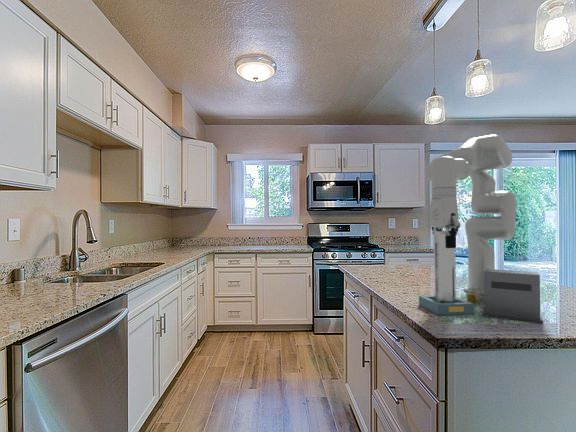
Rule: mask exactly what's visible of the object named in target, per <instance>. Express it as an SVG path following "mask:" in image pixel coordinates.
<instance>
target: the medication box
mask: <svg viewBox="0 0 576 432" xmlns="http://www.w3.org/2000/svg"><path fill="white" fill-rule="evenodd" d="M481 300H482V294H481V290H480V289H477V288H473V289H472V290H471V291H470V292H467V301H468V302H471V303H473V304H474V306H477V305H478V304H479V303H480V301H481Z"/></svg>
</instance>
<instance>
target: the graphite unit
mask: <svg viewBox="0 0 576 432" xmlns="http://www.w3.org/2000/svg"><path fill="white" fill-rule="evenodd" d="M540 277H541V275H540V274H539V273H538V272H537V271H522V270H512V269H511V270H509V269H507V270H506V269H484V294H483V306H482V309H481V310H482V312H481V313H482V315H481V316H482V317H484V318H485V317H486V318H493V319H500V320H509V321H517V322H525V323H531V324H538V325H544V320H543V318H542V317H541V278H540Z"/></svg>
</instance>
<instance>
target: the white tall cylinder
mask: <svg viewBox="0 0 576 432" xmlns="http://www.w3.org/2000/svg"><path fill="white" fill-rule="evenodd" d="M446 236H447V233H446V230H443V231H435V233H434V236H433V288H434V289H433V290H434V291H433V292H434V294H433V295H434V301H436V302H439V303H456V297H457V290H456V288H457V287H456V286H457V283H456V281H457V279H456V276H457V275H456V271H457V270H456V248H446Z"/></svg>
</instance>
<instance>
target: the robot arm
mask: <svg viewBox="0 0 576 432" xmlns="http://www.w3.org/2000/svg"><path fill="white" fill-rule="evenodd" d="M512 162H513V154H512V152H511V148H509V146H508V144H507V142H506V141H505V140H504V138H503V137H502V136H500V135H498V134H489V135H483V136H478V137H472V138H470V139H467V140H465V141H464V142H463V143H462V144H461V145H460V146H459V147H458V148H456V149H453V150H451V151H448V152H446V153H443V154H441V155H439V156H436V157H435V158H433V159H432V160H431V161H430V162H429V164H428V165H427V167H426V170H425V176H426V178H427V180H428V181H429V182H431V199H430V205H429V219H428V220H429V221H428V222H429V226H430V227H431V230H432V235H433V237H434V233H435V231H444V230H445V231H446V233H447V236H446V248H455V249H456V248H457V235H458V231H459V228H460V227H461V226H462V225H461V223H460V221H459V208H458V207H459V206H458V200H457V181H463V180H466V179H467V178H469V177H470V180H471V184H472V187H471V204H470V209H471V211H472V212H473V213H475V214H476V215H477V214H478V215H479V216H473V217H470V218H468V219H466V221H465V223H464V225H465V226H464V229H465V234H466V241H467V261H468V262H467V267H468V268H467V272H468V273H467V275H468V276H467V279H468V283H467V284H468V285H467V286H464V288H463V289H464V291H465V292H467V293H469V292H470V291H471V290H472V289H473V288H477V289H480V290H481V295H484V269H495V264H496V263H495V249H494V247H493V246H492V244H491V243H490V242H489V241H490V240H491V241H493V240H498V241H508V240H509V241H510V240H512V239H513V238H514V237H515V233H516V221H517V219H516V218H517V217H516V216H517V200H516V195H515V194H514V193H513V192H512V191H509V190H498V191H496V180H495V178H494V177H493V176H492V175H491V174H490V173H488V172H487V171H488V170H489V171H490V170H497V169H498V170H499V169H506V168H508V167H510V166H511V164H512ZM486 170H487V171H486ZM480 215H483V216H480ZM484 215H487V216H484ZM489 215H490V216H489ZM491 215H492V216H491ZM493 215H497V216H493ZM499 215H500V216H499ZM488 240H489V241H488ZM495 270H496V269H495Z"/></svg>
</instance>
